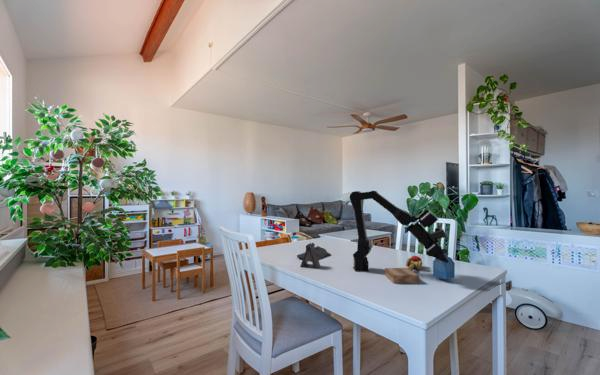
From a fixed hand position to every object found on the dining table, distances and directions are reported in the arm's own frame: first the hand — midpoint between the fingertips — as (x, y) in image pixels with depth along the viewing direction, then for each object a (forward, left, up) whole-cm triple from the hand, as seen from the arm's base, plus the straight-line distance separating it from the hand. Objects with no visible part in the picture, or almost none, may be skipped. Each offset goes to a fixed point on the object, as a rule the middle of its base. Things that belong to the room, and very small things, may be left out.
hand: (447, 260), depth 126 cm
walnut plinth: (-20, +2, -9) cm, 22 cm away
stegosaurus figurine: (-57, +44, -9) cm, 73 cm away
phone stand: (-60, +23, -9) cm, 65 cm away
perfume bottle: (-1, +1, -7) cm, 7 cm away
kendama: (-9, +16, -9) cm, 20 cm away
